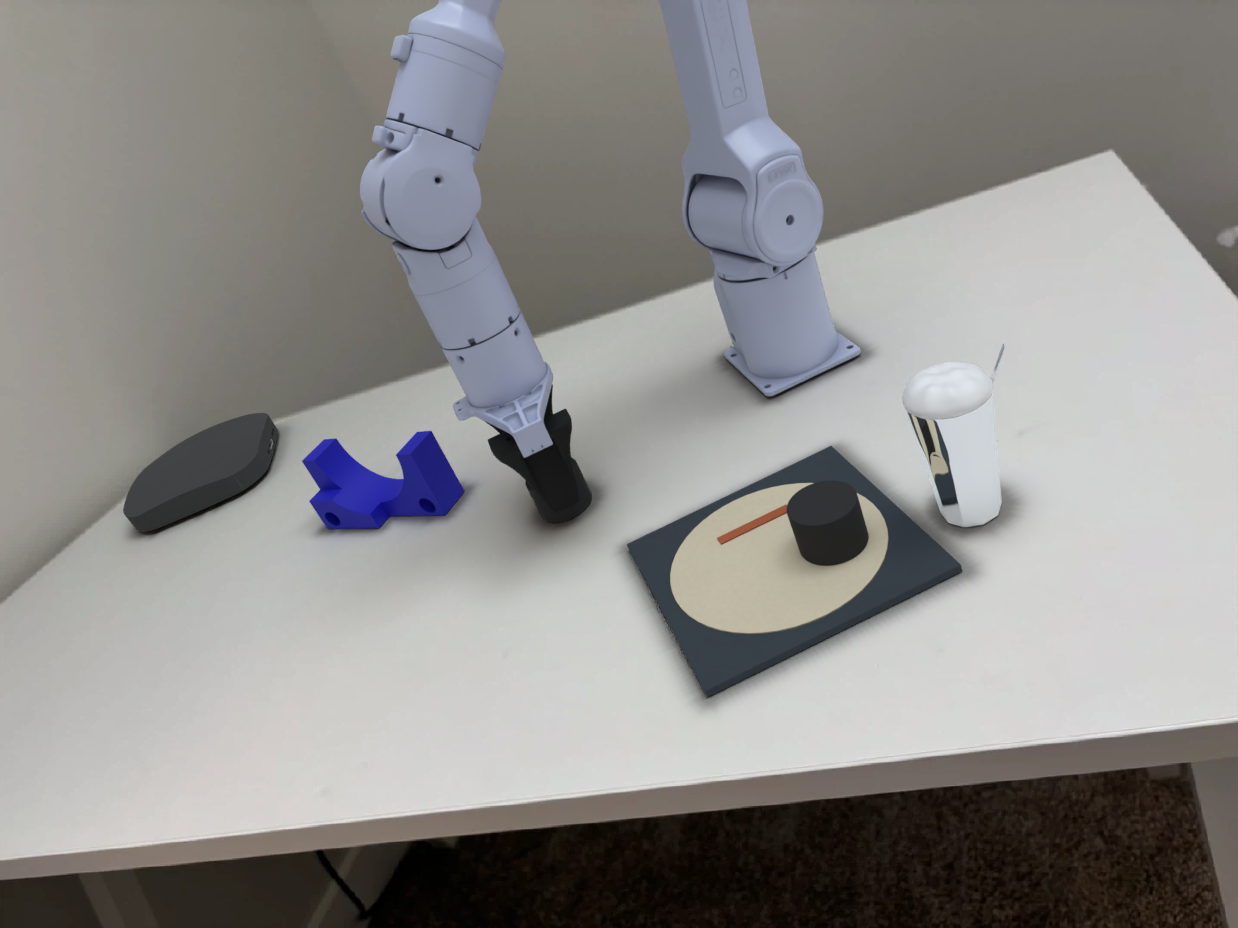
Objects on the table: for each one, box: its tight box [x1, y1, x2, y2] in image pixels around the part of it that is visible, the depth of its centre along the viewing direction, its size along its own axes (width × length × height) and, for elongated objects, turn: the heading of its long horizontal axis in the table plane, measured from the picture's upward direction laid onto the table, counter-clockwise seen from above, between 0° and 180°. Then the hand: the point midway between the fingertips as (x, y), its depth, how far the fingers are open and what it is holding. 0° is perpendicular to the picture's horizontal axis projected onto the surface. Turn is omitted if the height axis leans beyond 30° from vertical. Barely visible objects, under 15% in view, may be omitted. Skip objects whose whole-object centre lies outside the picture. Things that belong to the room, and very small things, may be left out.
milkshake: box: [901, 343, 1006, 528], centre depth 51 cm, size 4×5×10 cm
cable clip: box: [301, 430, 465, 530], centre depth 77 cm, size 12×4×6 cm, turn 65°
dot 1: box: [524, 457, 593, 524], centre depth 69 cm, size 4×4×3 cm
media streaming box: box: [122, 412, 279, 533], centre depth 97 cm, size 15×15×3 cm
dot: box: [786, 480, 869, 566], centre depth 54 cm, size 4×4×3 cm
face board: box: [626, 445, 963, 698], centre depth 56 cm, size 15×15×1 cm
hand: (559, 490), depth 69 cm, fingers closed on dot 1, 4 cm apart
